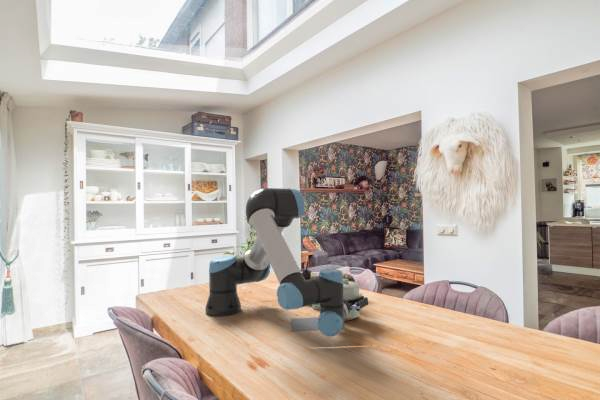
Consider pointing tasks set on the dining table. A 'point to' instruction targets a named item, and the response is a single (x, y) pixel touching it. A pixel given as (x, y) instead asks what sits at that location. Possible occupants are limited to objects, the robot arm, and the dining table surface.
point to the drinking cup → (306, 272)
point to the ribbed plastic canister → (351, 295)
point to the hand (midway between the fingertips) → (347, 294)
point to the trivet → (304, 324)
